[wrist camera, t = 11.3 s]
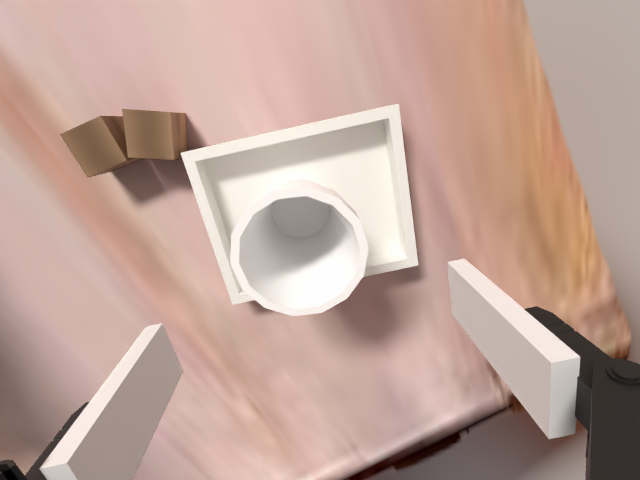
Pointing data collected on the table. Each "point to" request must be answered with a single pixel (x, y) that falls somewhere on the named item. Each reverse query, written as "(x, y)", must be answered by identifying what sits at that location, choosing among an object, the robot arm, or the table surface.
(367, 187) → the tray
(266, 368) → the table surface
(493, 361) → the robot arm
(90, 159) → the walnut block
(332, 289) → the foam cup
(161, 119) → the walnut block
